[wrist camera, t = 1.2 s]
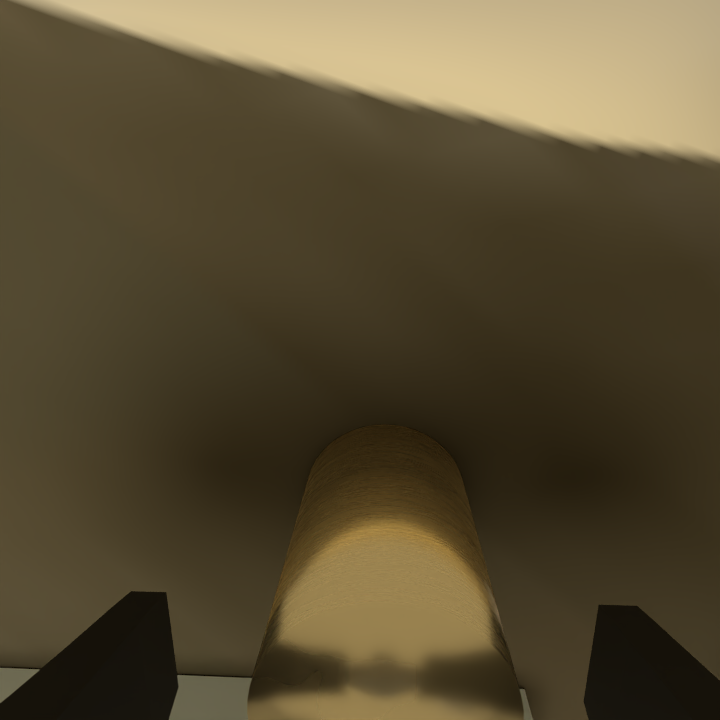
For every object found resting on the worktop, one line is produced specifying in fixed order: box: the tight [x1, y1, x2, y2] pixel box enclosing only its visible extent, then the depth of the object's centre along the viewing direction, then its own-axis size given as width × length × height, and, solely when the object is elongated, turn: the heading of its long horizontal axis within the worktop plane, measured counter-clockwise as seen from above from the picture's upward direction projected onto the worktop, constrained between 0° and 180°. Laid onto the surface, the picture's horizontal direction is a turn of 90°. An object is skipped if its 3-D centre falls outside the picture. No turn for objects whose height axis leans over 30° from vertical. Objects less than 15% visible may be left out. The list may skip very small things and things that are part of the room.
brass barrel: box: [247, 424, 524, 720], centre depth 11 cm, size 4×4×6 cm
